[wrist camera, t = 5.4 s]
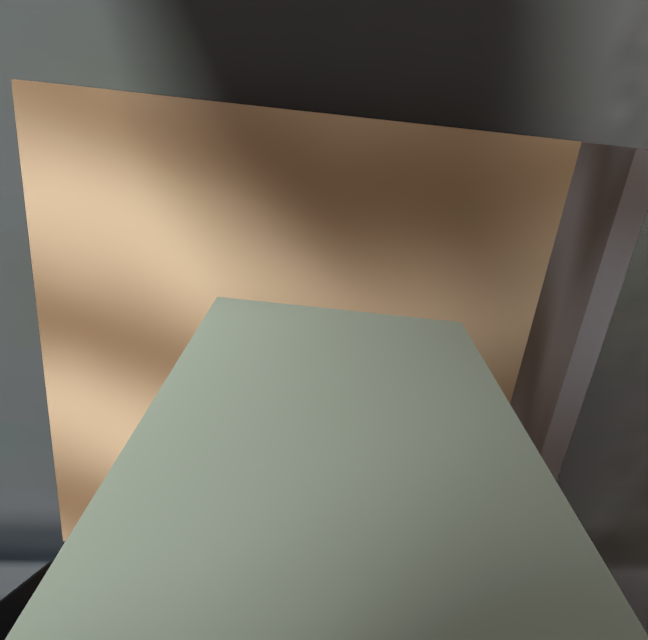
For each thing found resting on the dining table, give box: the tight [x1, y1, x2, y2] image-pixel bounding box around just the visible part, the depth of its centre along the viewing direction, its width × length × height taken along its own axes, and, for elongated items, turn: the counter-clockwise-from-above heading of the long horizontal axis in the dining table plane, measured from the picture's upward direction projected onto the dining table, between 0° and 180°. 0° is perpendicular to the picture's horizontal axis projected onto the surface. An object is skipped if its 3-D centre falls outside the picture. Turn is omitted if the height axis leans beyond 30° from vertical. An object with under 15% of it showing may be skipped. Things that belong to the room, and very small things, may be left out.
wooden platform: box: [11, 79, 648, 541], centre depth 14 cm, size 14×14×4 cm
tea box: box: [5, 297, 648, 640], centre depth 7 cm, size 4×6×6 cm
